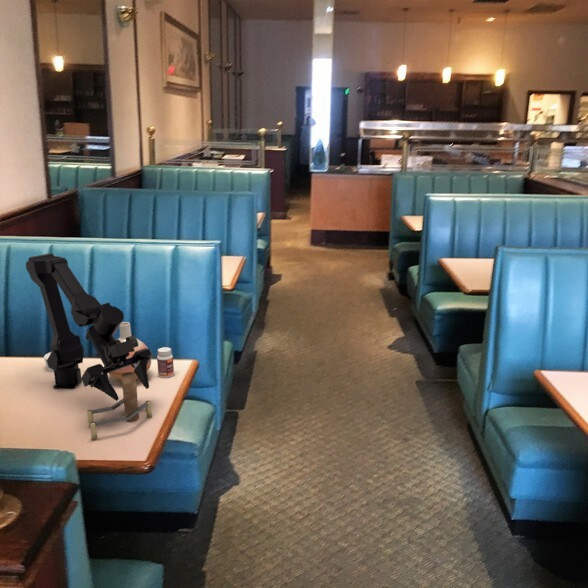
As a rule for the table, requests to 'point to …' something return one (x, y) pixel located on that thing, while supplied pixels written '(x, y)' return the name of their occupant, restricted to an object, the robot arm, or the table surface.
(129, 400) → the walnut peg
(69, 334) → the robot arm
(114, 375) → the vase
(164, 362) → the pill bottle
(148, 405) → the wire course
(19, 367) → the table surface
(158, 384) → the table surface
